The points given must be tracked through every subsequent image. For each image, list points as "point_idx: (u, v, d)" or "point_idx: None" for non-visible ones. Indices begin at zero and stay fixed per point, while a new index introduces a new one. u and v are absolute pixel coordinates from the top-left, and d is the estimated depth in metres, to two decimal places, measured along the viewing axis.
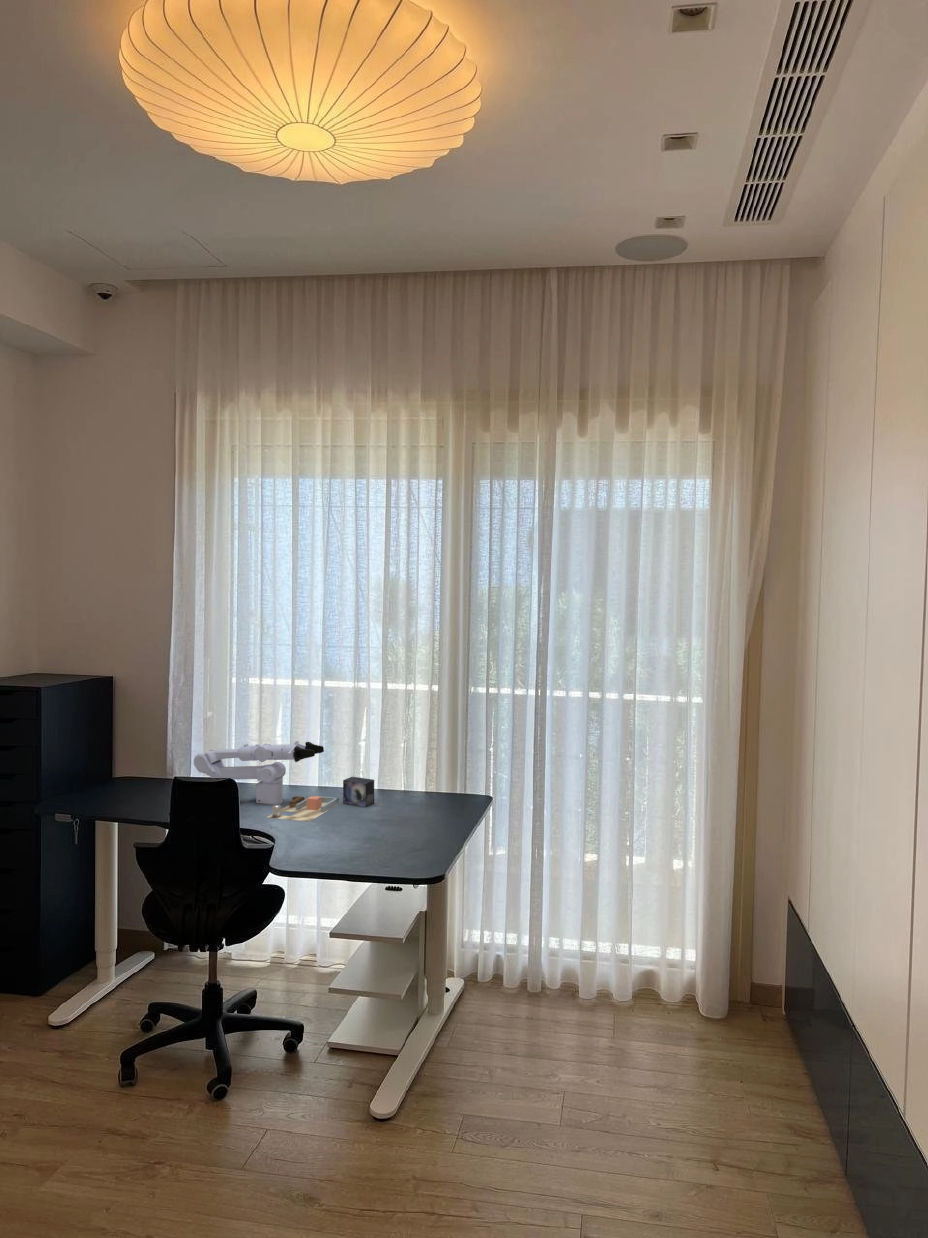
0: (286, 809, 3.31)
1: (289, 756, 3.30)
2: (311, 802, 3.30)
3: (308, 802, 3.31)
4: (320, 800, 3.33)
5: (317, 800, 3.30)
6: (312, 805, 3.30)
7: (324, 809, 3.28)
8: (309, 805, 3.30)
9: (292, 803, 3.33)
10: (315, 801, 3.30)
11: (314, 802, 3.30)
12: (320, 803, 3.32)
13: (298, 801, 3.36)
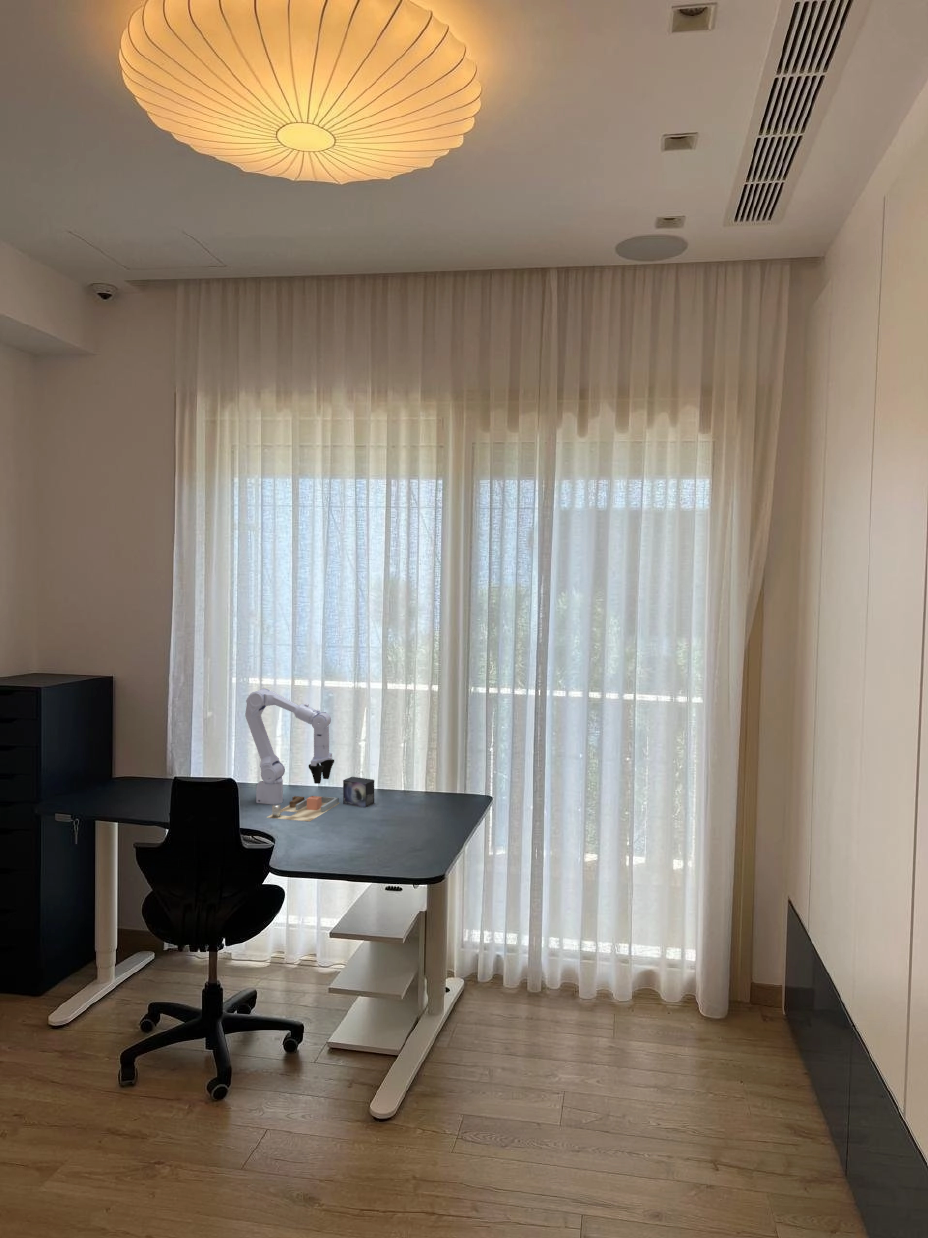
0: (286, 809, 3.31)
1: (312, 763, 3.31)
2: (311, 802, 3.30)
3: (308, 802, 3.31)
4: (320, 800, 3.33)
5: (317, 800, 3.30)
6: (312, 805, 3.30)
7: (324, 809, 3.28)
8: (309, 805, 3.30)
9: (292, 803, 3.33)
10: (315, 801, 3.30)
11: (314, 802, 3.30)
12: (320, 803, 3.32)
13: (298, 801, 3.36)
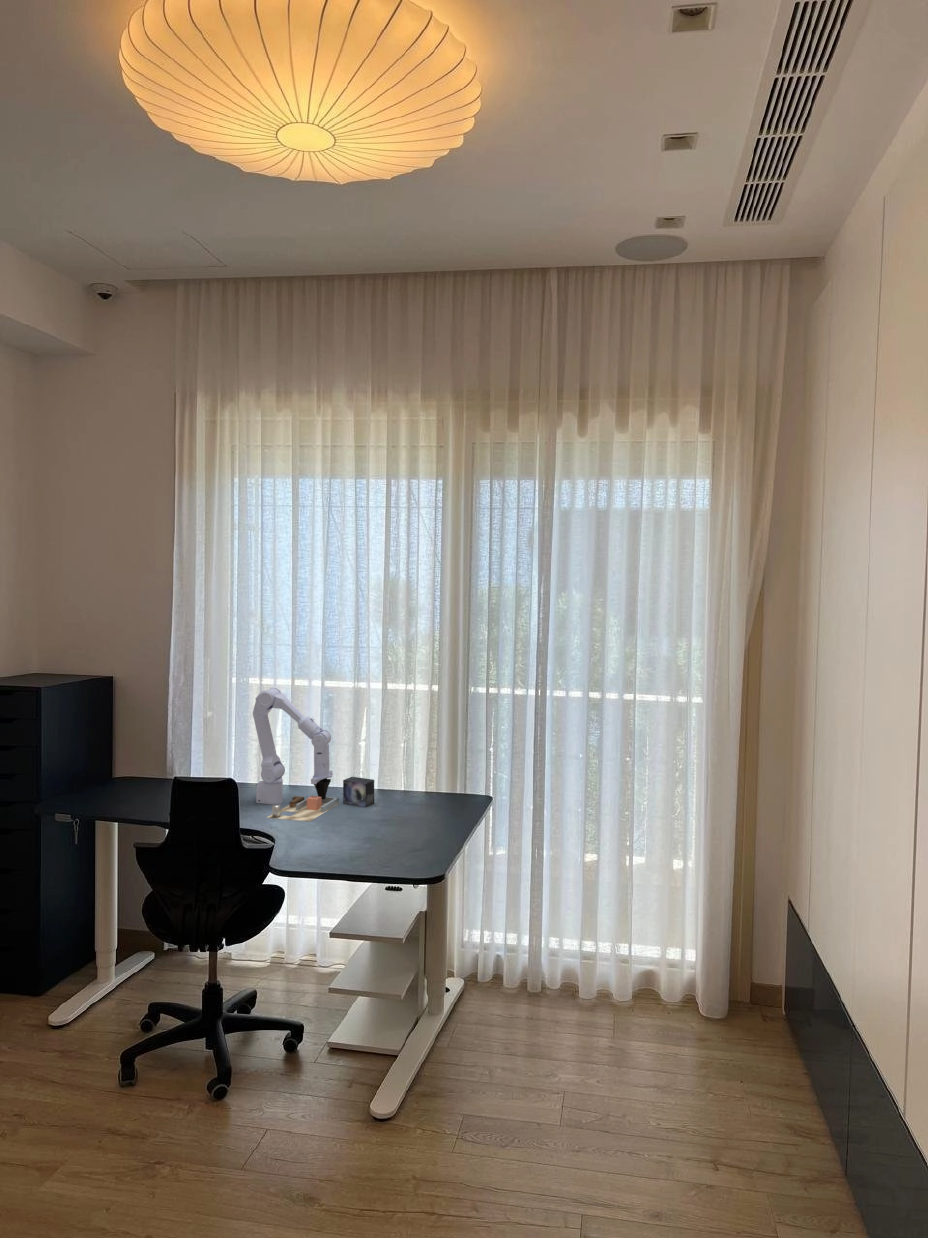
0: (286, 809, 3.31)
1: (312, 781, 3.31)
2: (311, 802, 3.30)
3: (308, 802, 3.31)
4: (320, 800, 3.33)
5: (317, 800, 3.30)
6: (312, 805, 3.30)
7: (324, 809, 3.28)
8: (309, 805, 3.30)
9: (292, 803, 3.33)
10: (315, 801, 3.30)
11: (314, 802, 3.30)
12: (320, 803, 3.32)
13: (298, 801, 3.36)
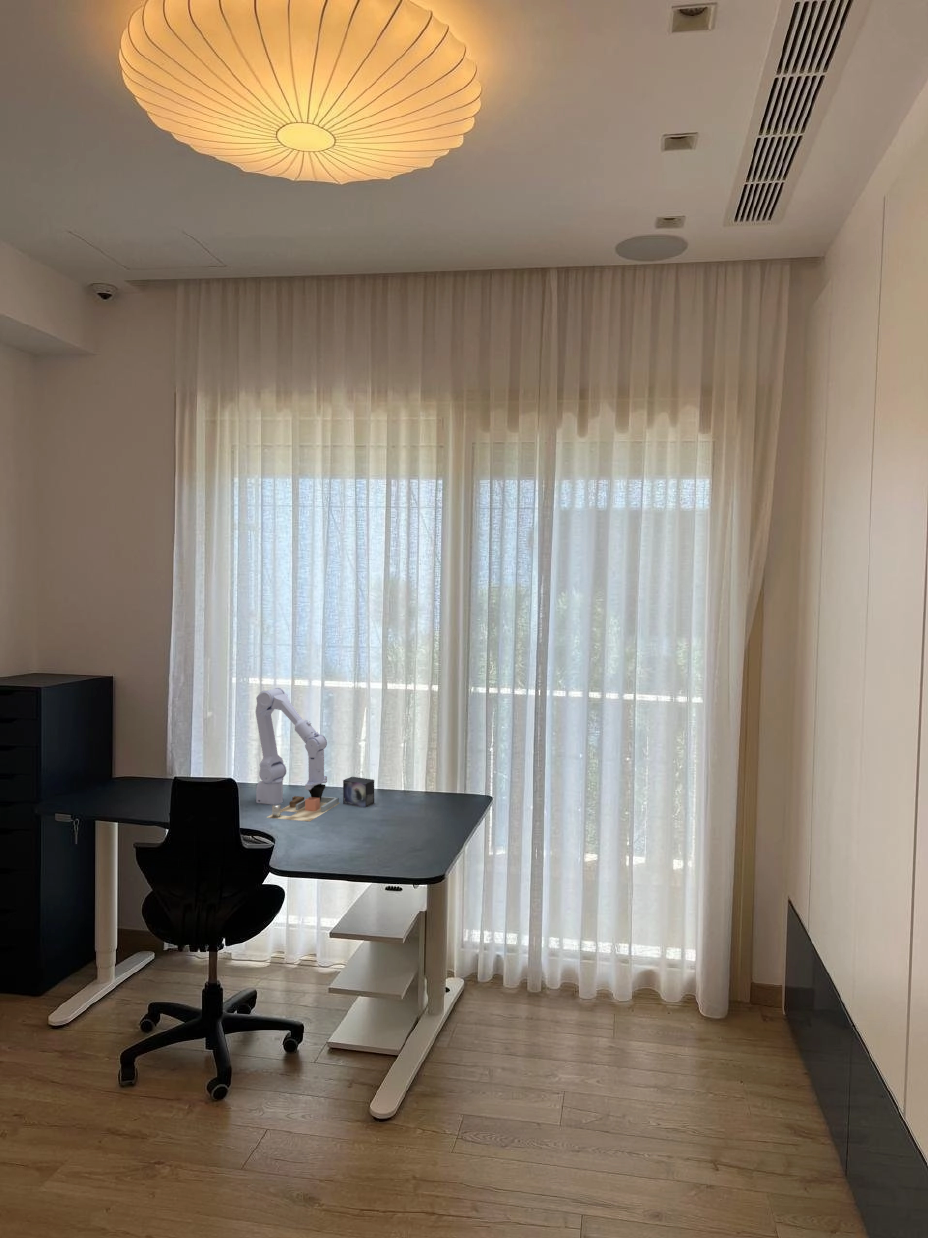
0: (286, 809, 3.31)
1: (307, 786, 3.27)
2: (309, 803, 3.29)
3: (306, 803, 3.29)
4: (319, 801, 3.31)
5: (315, 801, 3.29)
6: (310, 806, 3.29)
7: (324, 809, 3.28)
8: (308, 807, 3.29)
9: (292, 803, 3.33)
10: (313, 802, 3.28)
11: (312, 803, 3.28)
12: (318, 804, 3.31)
13: (298, 801, 3.36)
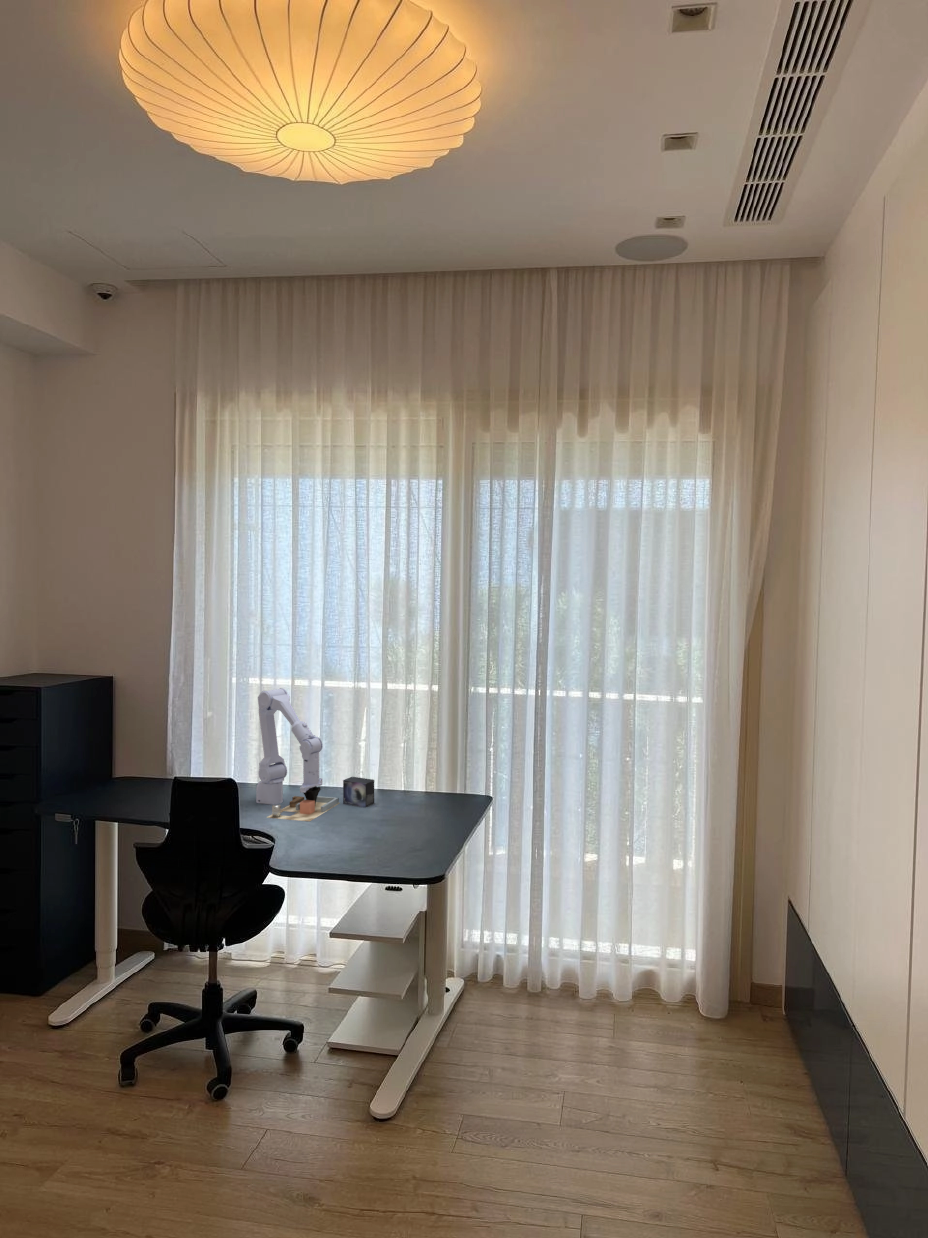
0: (286, 809, 3.31)
1: (301, 789, 3.23)
2: (304, 806, 3.25)
3: (301, 806, 3.25)
4: (314, 804, 3.27)
5: (310, 804, 3.25)
6: (305, 809, 3.25)
7: (324, 809, 3.28)
8: (302, 810, 3.25)
9: (292, 803, 3.33)
10: (308, 805, 3.24)
11: (307, 805, 3.24)
12: (313, 807, 3.27)
13: (298, 801, 3.36)
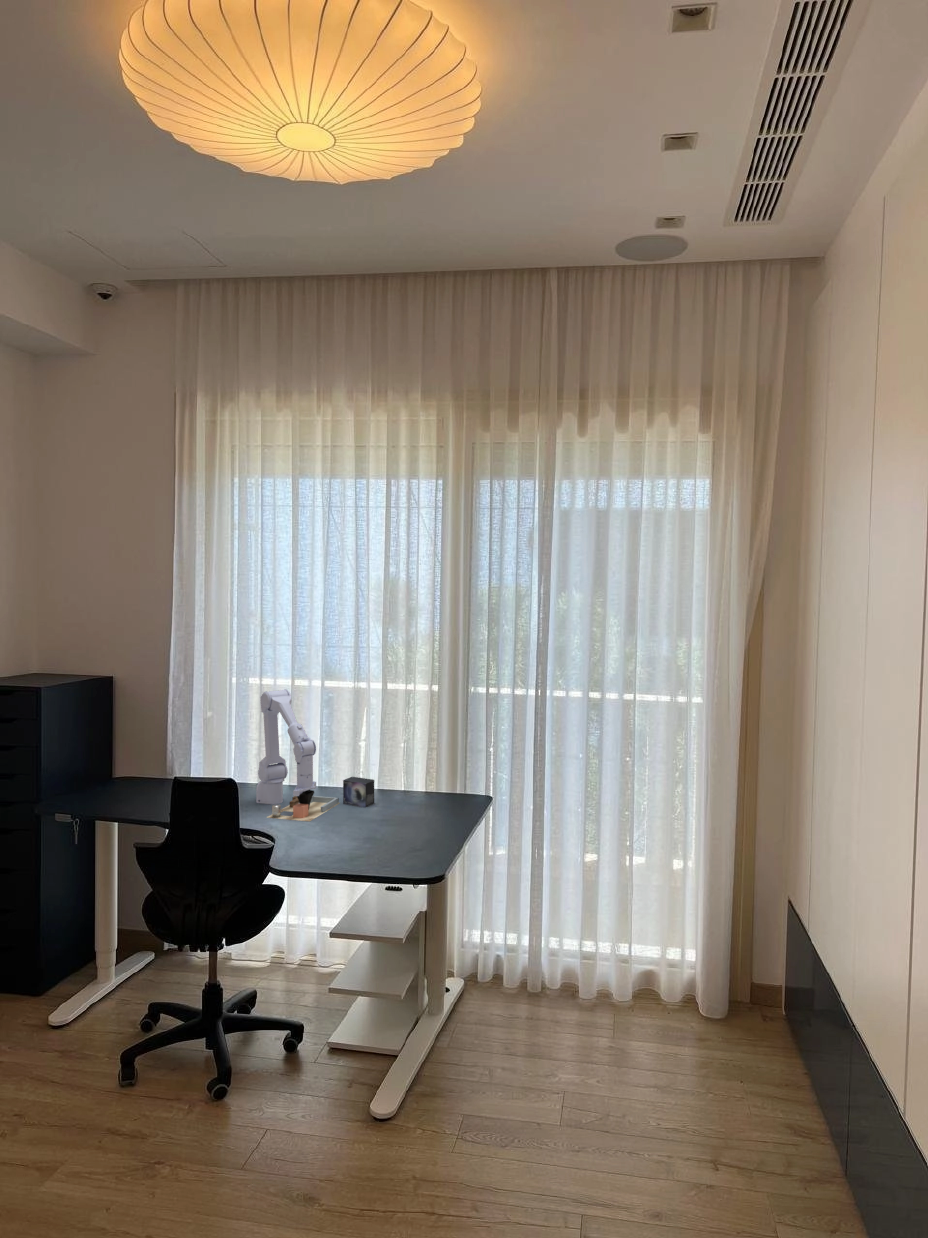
0: (286, 809, 3.31)
1: (295, 793, 3.18)
2: (297, 810, 3.20)
3: (294, 810, 3.20)
4: (307, 807, 3.22)
5: (304, 808, 3.20)
6: (298, 813, 3.20)
7: (324, 809, 3.28)
8: (296, 813, 3.20)
9: (292, 803, 3.33)
10: (302, 809, 3.19)
11: (301, 809, 3.19)
12: (307, 811, 3.22)
13: (298, 801, 3.36)
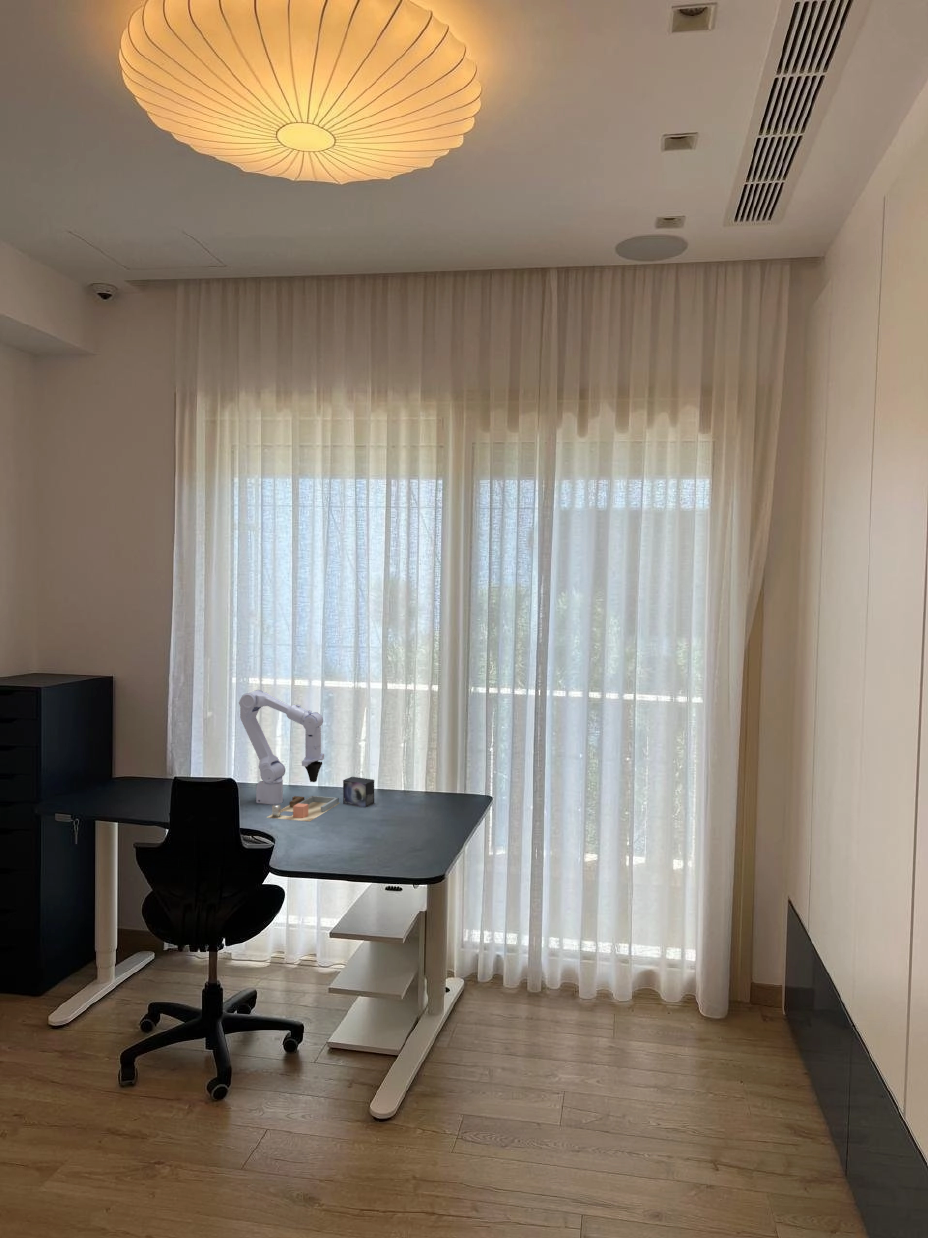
0: (286, 809, 3.31)
1: (303, 763, 3.30)
2: (297, 810, 3.20)
3: (294, 810, 3.20)
4: (307, 807, 3.22)
5: (304, 808, 3.20)
6: (298, 813, 3.20)
7: (324, 809, 3.28)
8: (296, 813, 3.20)
9: (292, 803, 3.33)
10: (302, 809, 3.19)
11: (301, 809, 3.19)
12: (307, 811, 3.22)
13: (298, 801, 3.36)
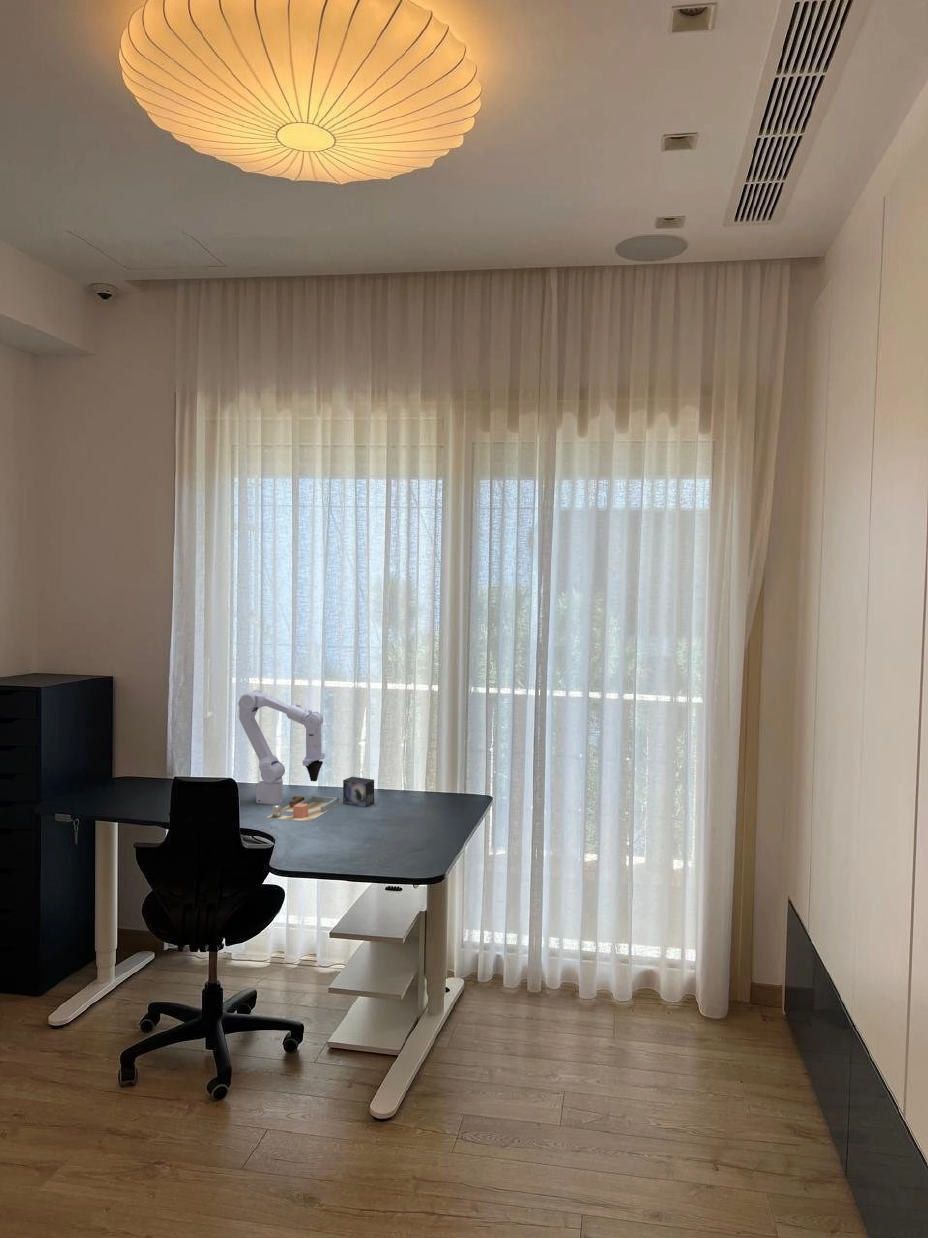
0: (286, 809, 3.31)
1: (304, 762, 3.31)
2: (297, 810, 3.20)
3: (294, 810, 3.20)
4: (307, 807, 3.22)
5: (304, 808, 3.20)
6: (298, 813, 3.20)
7: (324, 809, 3.28)
8: (296, 813, 3.20)
9: (292, 803, 3.33)
10: (302, 809, 3.19)
11: (301, 809, 3.19)
12: (307, 811, 3.22)
13: (298, 801, 3.36)
